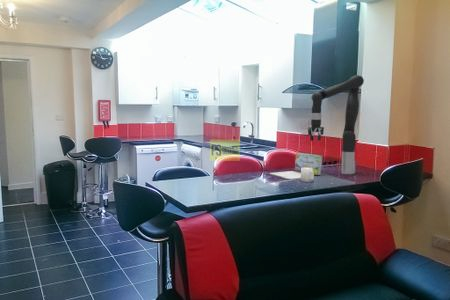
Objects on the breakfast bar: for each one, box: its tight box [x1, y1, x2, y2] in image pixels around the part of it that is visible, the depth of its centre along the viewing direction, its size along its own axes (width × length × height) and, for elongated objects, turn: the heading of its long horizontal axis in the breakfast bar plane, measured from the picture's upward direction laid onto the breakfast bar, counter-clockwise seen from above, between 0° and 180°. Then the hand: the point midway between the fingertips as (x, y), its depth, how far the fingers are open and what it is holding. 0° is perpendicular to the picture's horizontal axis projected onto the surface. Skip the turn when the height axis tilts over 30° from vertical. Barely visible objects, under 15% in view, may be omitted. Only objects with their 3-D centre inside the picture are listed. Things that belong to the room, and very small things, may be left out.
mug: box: [300, 167, 315, 183], centre depth 256 cm, size 8×11×9 cm
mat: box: [268, 170, 301, 180], centre depth 279 cm, size 22×26×1 cm
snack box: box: [293, 152, 323, 176], centre depth 285 cm, size 21×6×15 cm, turn 43°
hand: (315, 140), depth 286 cm, fingers open, 6 cm apart
